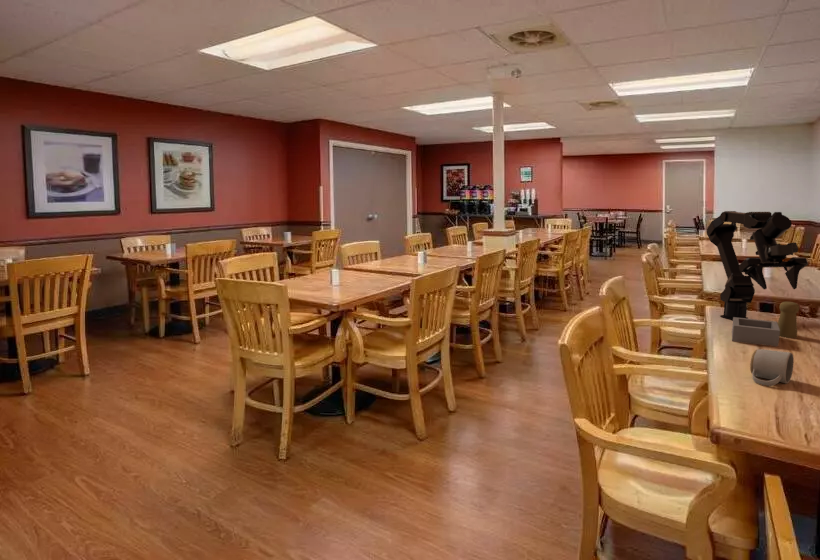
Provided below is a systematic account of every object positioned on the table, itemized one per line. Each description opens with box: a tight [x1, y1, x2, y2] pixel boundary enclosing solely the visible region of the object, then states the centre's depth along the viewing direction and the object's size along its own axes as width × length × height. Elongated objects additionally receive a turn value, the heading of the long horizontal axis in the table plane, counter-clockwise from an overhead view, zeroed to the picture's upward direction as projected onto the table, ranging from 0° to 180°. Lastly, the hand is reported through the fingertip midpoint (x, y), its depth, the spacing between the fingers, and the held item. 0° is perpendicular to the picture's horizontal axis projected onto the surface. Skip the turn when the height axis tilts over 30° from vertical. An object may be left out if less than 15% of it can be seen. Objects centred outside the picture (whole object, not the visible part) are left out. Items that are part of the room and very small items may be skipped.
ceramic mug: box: [749, 348, 795, 387], centre depth 135 cm, size 11×8×8 cm
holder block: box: [731, 317, 780, 347], centre depth 170 cm, size 12×12×5 cm
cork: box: [777, 301, 800, 339], centre depth 173 cm, size 6×6×11 cm
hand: (780, 288), depth 170 cm, fingers open, 9 cm apart
